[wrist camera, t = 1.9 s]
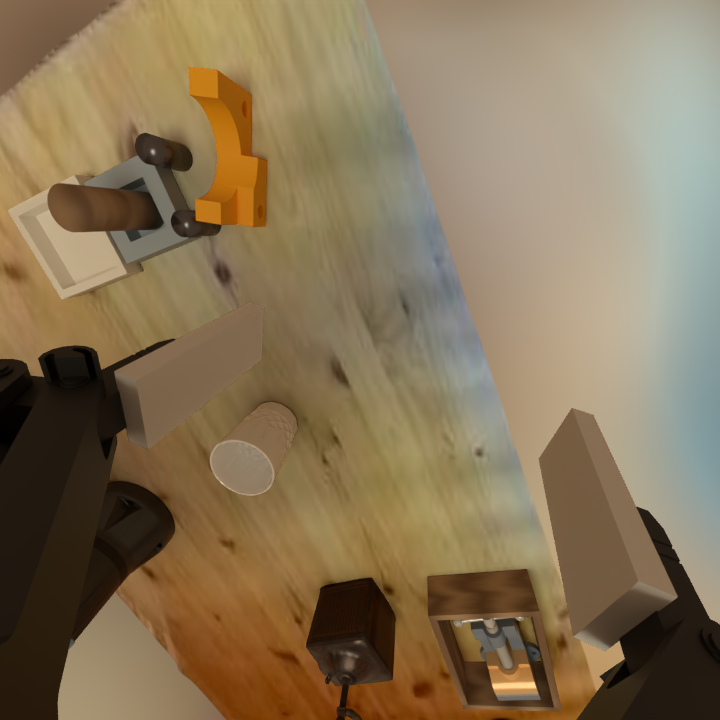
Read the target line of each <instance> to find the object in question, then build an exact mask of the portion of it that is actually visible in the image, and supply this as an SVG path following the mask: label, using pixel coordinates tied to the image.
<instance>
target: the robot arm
mask: <svg viewBox="0 0 720 720" xmlns="http://www.w3.org/2000/svg"><path fill="white" fill-rule="evenodd" d="M264 309H265V307H262V306H259V305H256V304H253V303H250V302H249V303H247V304H245V305H243V306H241V307H239V308H237V309H235V310H233V311H231V312H230V313H228V314H226V315H224V316H222V317H220V318H218V319H216V320H214V321H212V322H210V323H208V324H206V325H204V326H202V327H200V328H198V329H196V330H194V331H192V332H190V333H188V334H186V335H184V336H182V337H180V338H178V339H177V340H176V339H170V340H166V341H161V342H158V343H156V344H154V345H152V346H150V347H147V348H146V349H145V350H141V351H139V352H137V353H136V354H135V355H131V356H129V357H127V358H125V359H123V360H121V361H119V362H117V363H115V364H113V365H111V366H109V367H107V368H105V369H103V370H101V367H100V363H99V359H98V354H97V352H96V351H95V350H94V349H93V348H89V347H86V346H65V347H60V348H56V349H52V350H50V351H48V352H46V353H43V354H42V355H41V356H40V357H39V358H38V359H39V362H40V365H41V368H42V371H43V374H44V377H38V376H31V375H30V372H29V370H28V367H27V364H26V363H24V362H23V361H20V360H15V359H0V720H58V704H57V703H58V693H59V688H60V683H61V679H62V675H63V670H64V666H65V662H66V658H67V653H68V649H69V648H70V647H72V645H73V644H74V643H75V640H76V639H77V638H78V637H79V635H80V634H81V633H82V632H83V630H84V629H85V628H86V627H87V626H88V624H89V623H90V622H91V621H92V619H93V618H94V617H95V616H96V615H97V613H98V612H99V610H101V608H102V607H103V606H104V605H105V603H106V602H107V601H108V600H109V599H110V597H111V596H112V595H113V594H114V592H115V591H116V590H117V589H118V587H119V586H120V585H121V584H122V583H123V581H124V580H125V579H126V578H127V577H128V576H129V575H130V574H131V573H132V572H134V571H135V570H136V569H138V568H139V567H140V566H142V565H143V564H144V563H146V562H147V561H149V560H150V559H151V558H153V557H154V556H155V555H157V554H158V553H159V552H161V551H162V550H163V549H164V547H165V546H166V545H167V544H168V542H169V541H170V540H171V538H172V537H173V534H174V522H173V519H172V516H171V514H170V513H169V511H168V509H167V508H166V507H165V505H164V504H163V503H162V502H161V501H160V500H159V499H158V498H157V497H155V496H154V495H153V494H151V493H150V492H148V491H147V490H145V489H143V488H141V487H139V486H136V485H133V484H130V483H125V482H112V483H109V484H108V480H109V476H110V472H111V467H112V463H113V459H114V455H115V450H116V446H117V436H116V434H117V433H119V432H120V431H122V430H123V429H125V428H126V430H127V435H128V440H129V441H130V442H132V443H134V444H136V445H139V446H141V447H143V448H146V449H150V448H151V447H152V446H153V445H155V444H156V443H157V442H158V441H160V440H161V439H162V438H163V437H165V436H166V435H167V434H168V433H170V432H171V431H172V430H174V429H175V428H176V427H177V426H179V425H180V424H181V423H182V422H184V421H185V420H186V419H187V418H189V417H190V416H191V415H192V414H194V413H195V412H196V411H197V410H199V409H200V408H201V407H203V406H204V405H205V404H206V403H208V402H209V401H210V400H211V399H213V398H214V397H215V396H216V395H218V394H219V393H220V392H221V391H223V390H224V389H225V388H226V387H228V386H229V385H230V384H232V383H233V382H234V381H235V380H237V379H238V378H239V377H240V376H242V375H243V374H244V373H245V372H247V371H248V370H249V369H250V368H252V367H253V366H254V365H255V364H257V363H258V362H259V361H261V360H262V346H263V327H264ZM539 463H540V468H541V473H542V478H543V484H544V488H545V494H546V498H547V504H548V509H549V514H550V520H551V525H552V530H553V535H554V540H555V545H556V551H557V555H558V560H559V566H560V571H561V576H562V581H563V587H564V592H565V597H566V602H567V607H568V612H569V618H570V623H571V628H572V633H573V637H574V638H577V639H579V640H581V641H584V642H586V643H588V644H590V645H592V646H595V647H597V648H599V649H601V650H604V651H606V650H607V649H609V648H610V647H611V646H613V645H614V644H615V643H617V642H618V641H620V644H621V647H622V651H623V654H624V657H625V659H624V660H623V661H621V662H620V663H618V664H617V665H615V666H614V667H613V668H611V669H610V670H608V671H607V672H605V673H604V674H603V675H601V676H600V678H601V679H602V680H603V681H604V683H603V684H602V686H601V687H600V688H599V690H598V691H597V692H596V694H595V695H594V696H593V698H592V699H591V701H590V702H589V703H588V705H587V706H586V707H585V709H584V710H583V712H582V713H581V714H580V716H579V717H578V718H577V720H720V625H719V624H718V623H717V622H715V621H713V620H711V619H710V618H709V616H708V614H707V612H706V610H705V608H704V606H703V604H702V603H701V601H700V599H699V597H698V595H697V593H696V591H695V589H694V587H693V585H692V583H691V581H690V579H689V577H688V575H687V573H686V572H685V570H684V568H683V566H682V564H680V563H679V561H680V560H679V558H678V556H677V554H676V552H675V550H674V549H672V544H671V543H670V540H669V538H668V537H667V535H666V533H665V531H664V529H663V528H662V527H661V525H660V524H659V523H658V522H657V521H656V519H655V518H654V517H653V516H652V515H651V514H650V512H649V511H647V510H644V509H641V508H639V507H636V506H635V504H634V501H633V499H632V497H631V495H630V493H629V491H628V489H627V487H626V484H625V482H624V480H623V478H622V476H621V474H620V471H619V469H618V467H617V465H616V463H615V461H614V458H613V456H612V454H611V452H610V450H609V448H608V446H607V444H606V441H605V439H604V437H603V435H602V433H601V431H600V429H599V426H598V424H597V422H596V420H595V418H594V415H592V414H589V413H585V412H582V411H579V410H576V409H573V408H572V409H571V410H570V412H569V413H568V415H567V416H566V418H565V419H564V421H563V423H562V424H561V426H560V427H559V429H558V430H557V432H556V433H555V435H554V437H553V438H552V439H551V441H550V442H549V444H548V445H547V447H546V449H545V450H544V452H543V453H542V455H541V456H540V458H539Z"/></svg>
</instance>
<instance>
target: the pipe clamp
mask: <svg viewBox="0 0 720 720" xmlns="http://www.w3.org/2000/svg"><path fill="white" fill-rule="evenodd" d="M188 68H189V89H190V95H191V96H192V97H194V98H195V99H196V100H197V101H198V102H199V103H200V105H201V106H202V108H203V109H204V111H205V113H206V114H207V116H208V119H209V121H210V123H211V126H212V129H213V133H214V137H215V142H216V149H217V169H216V175H215V180H214V183H213V185H212V187H211V189H210V191H209V192H208V193H207V194H206V195H205V196H204V197H202V198H199V199H195V210H196V221H201V222H207V223H213V224H220V225H230V224H238V225H245V226H251V227H263V226H265V223H266V185H267V161H265V160H263V159H260V158H257V157H251V146H252V95H251V94H249V93H248V92H247V91H245V90H244V89H243V88H241V87H240V86H238V85H237V84H236V83H234V82H233V81H232V80H230V79H229V78H228V77H226V76H225V75H224V74H222V73H221V72H220V71H218V70H213V69H204V68H196V67H188Z"/></svg>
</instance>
